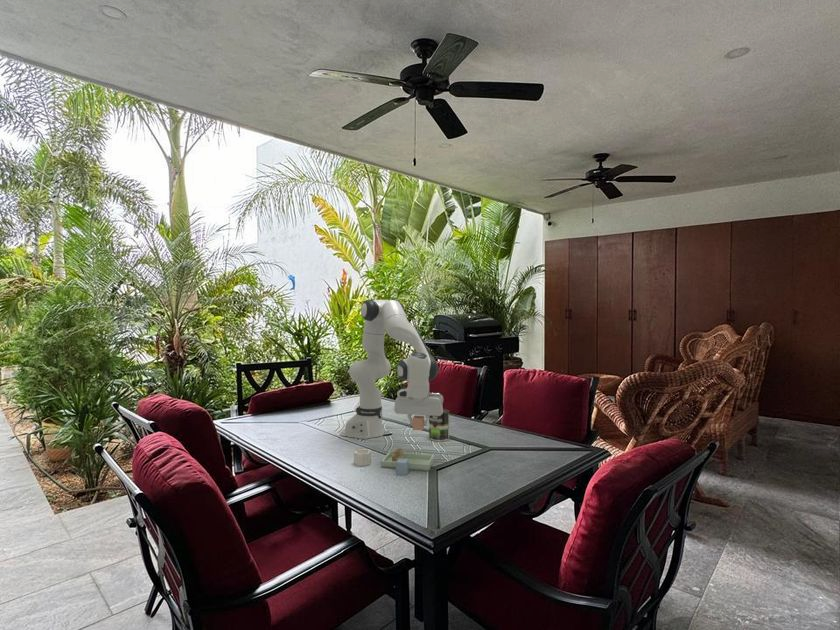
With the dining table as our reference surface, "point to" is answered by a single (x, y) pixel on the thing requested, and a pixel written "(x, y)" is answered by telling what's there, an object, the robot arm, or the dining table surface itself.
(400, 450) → the birch block
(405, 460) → the blue block
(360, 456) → the cup
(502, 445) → the dining table surface
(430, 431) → the coffee can
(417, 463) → the tray
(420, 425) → the terracotta block
